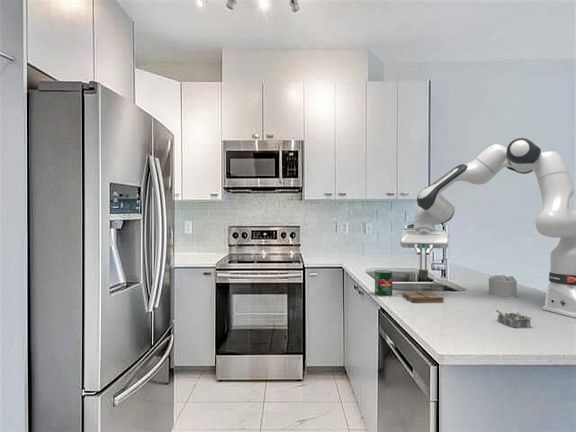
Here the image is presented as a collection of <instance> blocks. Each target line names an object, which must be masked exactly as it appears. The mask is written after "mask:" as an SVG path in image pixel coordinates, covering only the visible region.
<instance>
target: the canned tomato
mask: <svg viewBox="0 0 576 432" xmlns="http://www.w3.org/2000/svg"><path fill="white" fill-rule="evenodd" d="M374 295H375V296H376V297H382V296H389V297H392V296H393V270H389V269H377V270H376V269H375V270H374Z"/></svg>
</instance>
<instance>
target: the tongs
mask: <svg viewBox="0 0 576 432" xmlns="http://www.w3.org/2000/svg"><path fill="white" fill-rule="evenodd" d="M418 249H420V255H419V270H418V278H425V279H426V278H429V270H428V269H427V259H428V257H427V256H428V255H426V250H428V249H429V248H428V245H425V248H424V269H423V248H422V244H420V245H419V248H418Z"/></svg>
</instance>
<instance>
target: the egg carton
mask: <svg viewBox="0 0 576 432" xmlns="http://www.w3.org/2000/svg"><path fill="white" fill-rule="evenodd" d="M496 312H497V313H498V315H497V322H498V323H503V325H505V326H509V327H510V328H515V329H520V328H526V329H527V328H528V329H530V327H531V319H532V317H531V316H527V315H524V314H521V313H520V312H510V313H507V312H506V313H505V314H504V313H502V311H499V310H498V309H496Z"/></svg>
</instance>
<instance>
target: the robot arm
mask: <svg viewBox="0 0 576 432" xmlns="http://www.w3.org/2000/svg"><path fill="white" fill-rule="evenodd" d="M504 168H506V169H508V170H509V171H513V172H515V173H518V174H523V175H525V174H526V175H527V174H530V173H531V172H534V174H535V176H536V180H537V183H538V187H539V191H540V195H541V199H542V207H541V211H540V212H539V214H538V215H537V216H536V219H535V228H536V230H537V232H538V233H539V234H540V235H542V236H544V237H548V238H556V239H558V238H560V239H559V241H558V244H557V245H556V247H555V248H554V249H552V251H551V253H550V271H549V273H548V282H549V284H548V286H547V288H546V292H545V293H546V294H545V302H544V303H545V304H544V305H543V306H542V310H543V311H547V312H551V313H555V314H559V315H562V316H567V317H570V318H575V319H576V209H572V208H570V199H571V197H572V196H573V195H574V193H575V188H574V185H573V182H572V180H571V177H570V174H569V171H568V168H567V165H566V163H565V161H564V159H563V157H562V156H561V155H560V154H559V152H557V151H555V150H554V151H553V150H547V151H544V152H542V151H541V148H540V147H539V146H538V145H536V144H535V143H534V142H533V141H531V140H530V139H528V138H525V137H518V138H515V139H514V140H512V141H510V142H509V144H508V145H507V147H505V146H504V145H502V144H499V143H494V144H492V145H490V146H489V147H487V148H486V149H485V150H483V151H482V152H481V153H479V154H477V157H475V158H474V159H473V160H472V161H470V162H468V163H465V164H464V163H462V164H458V165H457V166H455V167H454V168H452V169H451V170H450V171H447V172H446V173H445V174H444V175H442V176H441V177H440V178H439V179H437V180H436V181H435V182H433V183H432V184H430V185H428V186H426V187H424V188H422V189H421V190H420V191H419V192H418V194H417V196H416V203H417V208H416V210H415V217H414V220H415V222H414V223H409V224H406V225H404V229H403V231H402V233H401V235H400V239H399V243H400V244H399V245H400V247H401V248H403V249H404V248H406V249H407V248H409V249H414V251H415V252H416V255H418V256H420V249H419V245H420V244H422V249H425V245H428V249H427V250H426V255H427V256H430V255H431V253H432V251H433V250H434V249H447V248H448V247H449V239H448V238H450V233H449V232H448V231H446V230H443V229H442V230H439V229H436V226H437V225H442V224H445V223H447V222H449V221H450V220H452V218H453V216H454V214H455V206H454V205H452V203H450V201H449V200H448V199H446V198H445V197H444V196H443V195H442V194H441V193H442V192H443V191H445V190H447V188H449V187H450V186H451V185H453V184H455V183H456V182H461V181H462V182H466V183H469V184H471V185H485V184H487V183H488V182H489V181H491V180H492V179H493V178H494V177H495V176H496V175H497V174H498V173H499V172H500V171H501V170H502V169H504Z"/></svg>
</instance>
